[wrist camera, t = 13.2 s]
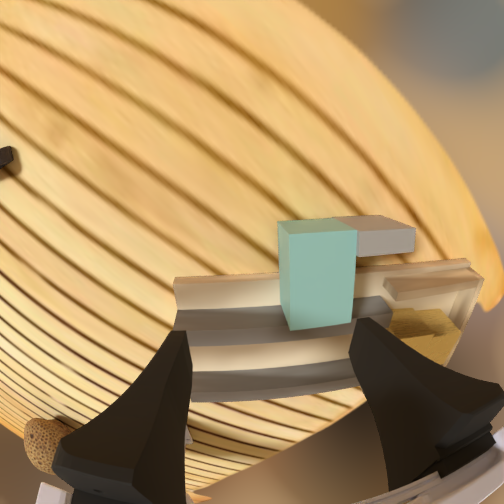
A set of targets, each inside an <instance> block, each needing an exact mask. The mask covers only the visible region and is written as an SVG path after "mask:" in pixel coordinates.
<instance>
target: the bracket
mask: <svg viewBox="0 0 504 504" xmlns="http://www.w3.org/2000/svg"><path fill="white" fill-rule="evenodd" d="M11 161H13V157H12V152H11V147H10V146H7V147H3V148H1V149H0V169H1V168H2V167H4V166H5V165H7V164H8V163H10V162H11Z"/></svg>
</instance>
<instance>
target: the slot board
mask: <svg viewBox="0 0 504 504" xmlns="http://www.w3.org/2000/svg"><path fill="white" fill-rule="evenodd" d="M470 265H471V262H470V261H468V260H467V259H466V258H461V259H451V260H440V261H429V262H418V263H406V264H394V265H382V266H369V267H356V268H355V282H354V295H353V307H352V317H351V322H350V323H344V324H338V325H331V326H324V327H317V328H309V329H301V330H293V331H290V329H289V326H288V323H287V320H286V317H285V315H284V312H283V309H282V306H281V303H280V278H279V273H261V274H241V275H220V276H197V277H175V279H174V282H173V288H174V293H175V299H176V304H177V309H178V310H177V314H176V319H175V323H174V327H173V331H182V330H186V333H187V339H188V344H189V349H190V354H191V359H192V363H193V375H192V390H191V396H190V398H191V401H192V402H235V401H253V400H266V399H277V398H286V397H295V396H302V395H310V394H317V393H323V392H329V391H335V390H340V389H346V388H351V387H356V386H360V384H359V382H358V380H357V377H356V375H355V373H354V370H353V367H352V364H351V361H350V357H349V354H348V351H349V348H350V344H351V340H352V336H353V332H354V328H355V324H356V320H357V319H358V318H365V317H370V318H371V319H373V320H374V321H376V322H377V323H378V324H380V325H381V326H382V327H384V328H389V325H390V322H391V319H392V316H393V311H392V310H391V309H401V308H413V309H414V310H415V311H416V310H428V309H439V308H440V309H441V310H442V311H443V312H444V313H445V314H446V316H447V317H448V318H449V319H450V320H451V321H452V322H453V323H454V324H455V326H456V327H457V328H458V329H459V330H460V331H461V334H460V336H459V338H458V339H457V341H456V343H455V345H454V347H453V348H452V350H451V352H450V354H449V355H448V357H447V359H446V360H445V362H444V364H441V365H442V366H444V367H446V366H447V364H448V362H449V360H450V358H451V356H452V354H453V352H454V350H455V348H456V346H457V344H458V342H459V340H460V338H461V336H462V334H463V332H464V329H465V327H466V325H467V323H468V320H469V318H470V316H471V313H472V311H473V308H474V306H475V303H476V301H477V298H478V295H479V293H480V290H481V287H482V284H483V281H484V278H483V277H482V276H480V275H479V274H478V273H477V272H475V271H474V270H473V269H472V268H470ZM360 387H361V386H360ZM361 389H362V388H361ZM362 391H363V390H362ZM363 394H364V393H363Z"/></svg>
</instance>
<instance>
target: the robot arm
mask: <svg viewBox="0 0 504 504" xmlns="http://www.w3.org/2000/svg"><path fill="white" fill-rule="evenodd" d="M348 354H349V357H350V361H351V364H352V367H353V370H354V373H355V375H356V377H357V380H358V382H359V384H360V386H361V388H362V390H363V393H364V395H365V397H366V399H367V401H368V404H369V406H370V408H371V410H372V413H373V415H374V418H375V422H376V425H377V428H378V432H379V435H380V439H381V443H382V448H383V452H384V458H385V462H386V469H387V476H388V486H389V492H388V493H385V494H382V495H379V496H377V497H373V498H370V499H367V500H364V501H361V502H357V503H354V504H402V503H405V502H407V501H409V500H411V499H412V500H411V501H410V502H408V503H406V504H479V503H480V502H482V501H483V500H484V499H485V498H487V497H488V496H489V495H490V494H491V493H493V492H494V491H495V490H496V489H497V488H499V487H500V486H501V485H502V484H503V483H504V426H503V427H502V428H500V429H499V430H498V431H496V432H495V433H494V434H493V435H491V433H490V431H491V430H492V425H491V424H490V422H491V420H493V418H494V417H495V416H496V415H497V414H498V412H499V411H500V410H501V409H502V407H503V406H504V391H503V389H502V388H501V387H500V385H499V384H497V383H492V382H487V381H483V380H478V379H475V378H472V377H468V376H465V375H463V374H460V373H458V372H455V371H453V370H450V369H448V368H446V367H444V366H442V365H440V364H438V363H436V362H434V361H432V360H430V359H429V358H427V357H425V356H423V355H422V354H420V353H419V352H417V351H416V350H414V349H413V348H411V347H410V346H408V345H407V344H405V343H404V342H403V341H401V340H400V339H398V338H397V337H396V336H394V335H393V334H392V333H390V332H389V331H388V330H386V329H385V328H384V327H382V326H381V325H380V324H378V323H377V322H376V321H374V320H373V319H371V318H370V317H365V318H358V319H357V320H356V324H355V328H354V332H353V336H352V340H351V344H350V348H349V351H348ZM192 375H193V363H192V359H191V354H190V349H189V344H188V339H187V333H186V330H182V331H171V332H170V333H169V334H168V336H167V337H166V339H165V340H164V342H163V344H162V345H161V347H160V348H159V350H158V351H157V353H156V354H155V355H154V357H153V358H152V360H151V361H150V362H149V364H148V365H147V366H146V368H145V369H144V370H143V371H142V373H141V374H140V375H139V376H138V378H137V379H136V380H135V381H134V382H133V384H132V385H131V386H130V387H129V388H128V389H127V390H126V391H125V392H124V393H123V394H122V395H121V396H120V397H119V398H118V399H117V400H116V401H115V402H114V403H113V404H111V405H110V406H109V407H108V408H107V409H106V410H105V411H103V412H102V413H101V414H99V415H98V416H97V417H95V418H94V419H92V420H91V421H90V422H88V423H87V424H85V425H84V426H82V427H81V428H79V429H77V430H75V431H73V432H72V433H70V434H68V435H66V436H64V437H62V438H61V439H60V441H59V443H58V446H57V449H56V452H55V455H54V459H53V462H52V466H51V468H52V470H53V472H54V473H55V474H56V475H57V476H58V477H60V478H61V479H62V480H64V481H65V482H66V483H68V484H69V485H70V486H72V487H73V488H74V493H73V494H71V493H69V492H67V491H65V490H62V489H59V488H57V487H54V486H52V485H49V484H47V483H44V482H42V483H41V485H40V489H39V493H38V497H37V501H36V504H194V502H193V500H192V499H191V497H190V496H189V495H188V494H187V493H186V492H185V447H186V444H193V439H192V437H191V435H190V432H189V430H188V427H187V425H186V423H187V416H188V409H189V403H190V396H191V390H192Z"/></svg>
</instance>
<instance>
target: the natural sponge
mask: <svg viewBox="0 0 504 504" xmlns="http://www.w3.org/2000/svg"><path fill="white" fill-rule="evenodd" d="M70 433H71V432H70V430H69V429H68V428H67V426H65V425H64V424H63V423H62V422H60V421H58V420H54V419H52V420H45V419H41V418H34V419H31V420H30V421H28V422H27V424H26V425H25V429H24V446H25V450H26V453H27V455H28V457H29V459H30V460H31V462H32V463H33V464H34V466H36V467H37V468H38V469H39V470H41V471H44V472H46V473H49V474H52V475H56V474H55V473H54V472H53V470H52V468H51V466H52V462H53V459H54V455H55V452H56V449H57V446H58V443H59V441H60V439H61V438H62V437H64V436H66V435H68V434H70Z"/></svg>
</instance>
